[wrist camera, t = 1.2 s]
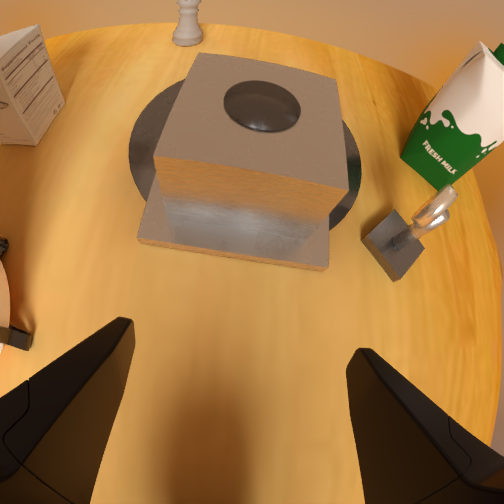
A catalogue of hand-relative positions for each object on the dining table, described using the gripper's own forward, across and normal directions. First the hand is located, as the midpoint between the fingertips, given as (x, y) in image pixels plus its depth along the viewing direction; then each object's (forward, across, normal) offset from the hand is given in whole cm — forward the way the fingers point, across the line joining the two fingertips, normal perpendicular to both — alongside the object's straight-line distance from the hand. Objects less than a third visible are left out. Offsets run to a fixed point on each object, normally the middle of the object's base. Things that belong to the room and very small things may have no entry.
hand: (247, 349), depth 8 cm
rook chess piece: (+37, +12, -17) cm, 42 cm away
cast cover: (+20, 0, -1) cm, 20 cm away
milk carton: (+27, -22, -7) cm, 36 cm away
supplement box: (+24, +27, -4) cm, 36 cm away
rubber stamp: (+17, -15, +2) cm, 23 cm away
